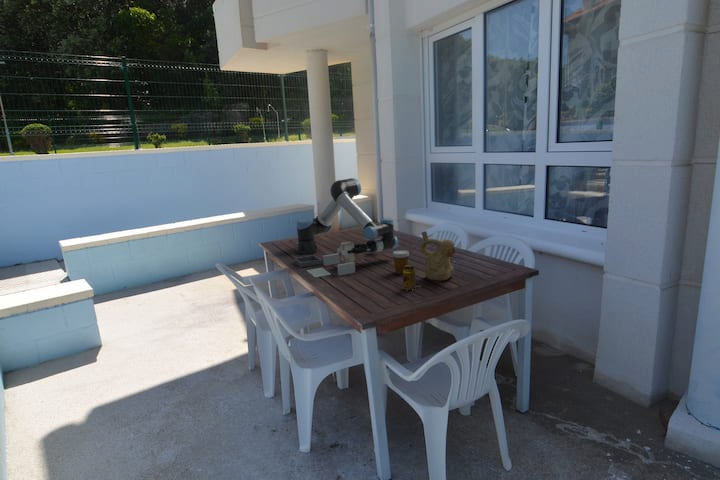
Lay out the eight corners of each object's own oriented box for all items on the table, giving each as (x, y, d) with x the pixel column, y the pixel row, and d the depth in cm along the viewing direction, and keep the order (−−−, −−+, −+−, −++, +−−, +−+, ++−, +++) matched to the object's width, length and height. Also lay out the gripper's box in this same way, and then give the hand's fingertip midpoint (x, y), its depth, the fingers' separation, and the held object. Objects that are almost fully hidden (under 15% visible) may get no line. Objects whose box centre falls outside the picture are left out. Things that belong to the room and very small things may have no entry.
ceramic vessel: (450, 284, 219) (449, 236, 213) (415, 279, 229) (413, 234, 223) (461, 274, 233) (461, 230, 227) (427, 270, 243) (426, 227, 237)
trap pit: (294, 262, 276) (294, 258, 275) (315, 259, 281) (315, 254, 280) (301, 268, 263) (300, 263, 262) (322, 264, 269) (322, 259, 268)
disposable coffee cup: (398, 276, 237) (398, 255, 234) (389, 272, 245) (388, 251, 242) (413, 272, 241) (412, 252, 238) (403, 268, 249) (403, 249, 247)
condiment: (400, 289, 216) (399, 266, 214) (409, 284, 223) (408, 262, 220) (412, 291, 212) (411, 268, 209) (421, 286, 218) (420, 264, 215)
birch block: (341, 260, 259) (340, 242, 256) (350, 258, 261) (349, 241, 259) (345, 262, 254) (344, 244, 251) (355, 261, 256) (353, 243, 253)
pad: (306, 270, 257) (306, 270, 257) (321, 267, 261) (321, 267, 261) (314, 277, 243) (314, 277, 243) (331, 274, 247) (331, 274, 247)
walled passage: (323, 265, 267) (323, 255, 266) (338, 262, 271) (337, 253, 269) (339, 275, 244) (338, 265, 242) (355, 272, 248) (354, 262, 246)
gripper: (382, 254, 256) (346, 261, 246) (367, 248, 272) (334, 254, 263) (381, 242, 254) (345, 248, 245) (367, 237, 271) (333, 242, 261)
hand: (339, 251), depth 254 cm, fingers closed on birch block, 6 cm apart
